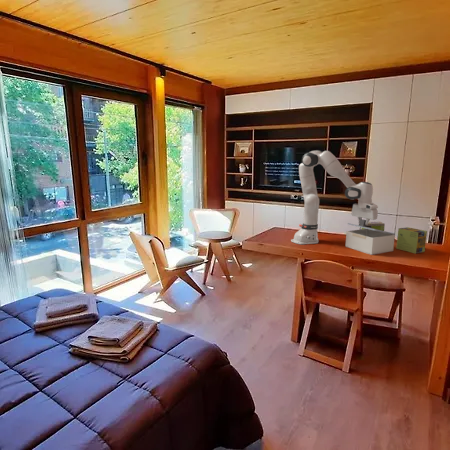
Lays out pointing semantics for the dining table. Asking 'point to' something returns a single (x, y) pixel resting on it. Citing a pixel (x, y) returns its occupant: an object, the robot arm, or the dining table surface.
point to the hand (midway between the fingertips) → (363, 223)
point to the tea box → (375, 225)
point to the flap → (362, 224)
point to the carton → (370, 241)
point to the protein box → (411, 240)
